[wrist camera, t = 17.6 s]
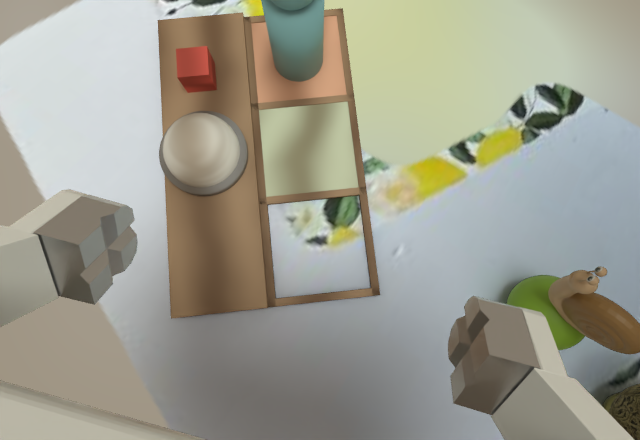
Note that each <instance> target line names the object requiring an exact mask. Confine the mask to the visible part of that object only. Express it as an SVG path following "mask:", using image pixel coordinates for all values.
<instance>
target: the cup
mask: <svg viewBox="0 0 640 440" xmlns="http://www.w3.org/2000/svg"><path fill="white" fill-rule="evenodd" d="M602 407H603V408H604V409H605V410H606V411H607V412H608V413H609V414H610V415H611V416H612V417H613V418H614V419H615V420H616V421H617V422H618V423H619V424H620V425H621V426H622V427H623V428H624V429H625V430H626V431H627V432H628V434H629V435H630V436H631V437H632V438H633V439H634V440H640V384H637V385H633V386H631V387H628V388H627V389H625V390H623V391H622V392H620V393H615V394H613V395H611V396H609V397H608V398H607V399H606V400H605V402H604V404H603V406H602Z"/></svg>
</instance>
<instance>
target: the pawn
mask: <svg viewBox="0 0 640 440" xmlns="http://www.w3.org/2000/svg"><path fill="white" fill-rule="evenodd" d="M261 1H262V6H263V11H264V16H265V21H266V26H267V31H268V35H269V40H270V45H271V50H272V55H273V60H274V65H275V68H276V70H277V71H278V73H279V74H280V75H281V76H283V77H284V78H286V79H288V80H290V81H295V82H301V81H306V80H309V79H311V78H313V77H314V76H315V75H316V74H317V73H318V72H319V71H320V69H321V67H322V63H323V38H324V0H261Z"/></svg>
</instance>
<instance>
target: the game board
mask: <svg viewBox="0 0 640 440" xmlns="http://www.w3.org/2000/svg"><path fill="white" fill-rule="evenodd" d="M158 34H159V57H160V80H161V102H162V125H163V138H162V141H161V144H160V150H159V158H160V164H161V167H162V170H163V172H164V173H165V193H166V216H167V238H168V261H169V283H170V306H171V318H179V317H188V316H197V315H206V314H215V313H224V312H233V311H242V310H251V309H260V308H268V307H275V306H284V305H293V304H302V303H311V302H320V301H329V300H338V299H348V298H357V297H366V296H375V295H380V291H379V283H378V275H377V268H376V260H375V252H374V245H373V237H372V230H371V222H370V214H369V207H368V199H367V191H366V184H365V176H364V168H363V161H362V153H361V145H360V139H359V130H358V123H357V115H356V107H355V100H354V93H353V85H352V77H351V70H350V61H349V54H348V46H347V39H346V31H345V23H344V16H343V9H331V10H324V38H323V63H322V67H321V69H320V71H319V72H318V73H317V74H316V75H315V76H314V77H313V78H311V79H309V80H306V81H301V82H295V81H290V80H288V79H286V78H284V77H283V76H281V75H280V74H279V73H278V71H277V70H276V68H275V65H274V60H273V55H272V50H271V45H270V40H269V35H268V31H267V26H266V21H265V16H253V17H244V16H243V13H234V14H223V15H211V16H200V17H189V18H178V19H167V20H158ZM358 195H359V198H360V206H361V214H362V221H363V229H364V237H365V245H366V253H367V261H368V269H369V276H370V284H371V288H368V289H359V290H350V291H340V292H331V293H322V294H313V295H304V296H295V297H286V298H277V299H276V297H275V285H274V274H273V262H272V251H271V240H270V228H269V217H268V205H271V204H280V203H290V202H300V201H309V200H319V199H329V198H338V197H348V196H358Z"/></svg>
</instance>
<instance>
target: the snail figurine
mask: <svg viewBox="0 0 640 440" xmlns="http://www.w3.org/2000/svg"><path fill="white" fill-rule="evenodd" d="M590 272H595V274H596V275H597V276H600V277H603V276H605V275H606V274H607V270H606V268H604V267H597V268H596V269H595V271H585V270H578V271H575V272H573V273H571V274H570V275H568V276H565V277H562V278H559V277H555V276H549V275H538V276H533V277H530V278H527V279H525V280H523V281H521V282H520V283H518V284H517V285H516V286H515V287H514V288H513V290H512V291H511V293H510V294H509V297H508V299H507V304H508V305H512V306H515V307H521V308H526V309H530V310H534V311H538V312H541V313H542V314H543V315H544V316H545V317H546V320H547V322H548V325H549V327H550V330H551V333H552V335H553V338H554V341H555V343H556V346H557V349H558V350H563V349H567V348H570V347H572V346H574V345H576V344H577V343H579V342H580V341H581V340H582V339H583V338H584V337H585V336H586V337H588V338H590V339H592V340H594V341H596V342H597V343H599V344H601V345H603V346H605V347H607V348H609V349H611V350H613V351H616V352H620V353H624V354H636V353H639V352H640V324H639V323H638V322H637V320H636V319H635V318H634V317H633V316H632V315H630V314H629V313H628V312H627V311H626V310H624V309H623V308H622V307H620V306H619V305H618V304H616V303H614V302H613V301H611V300H609V299H608V298H606V297H604V296H602V295H599V294H597V293H594V292H595V291H596V290H597V288H598V283H599V278H598V277H597V276H594V275H593V274H592V273H590Z"/></svg>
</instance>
